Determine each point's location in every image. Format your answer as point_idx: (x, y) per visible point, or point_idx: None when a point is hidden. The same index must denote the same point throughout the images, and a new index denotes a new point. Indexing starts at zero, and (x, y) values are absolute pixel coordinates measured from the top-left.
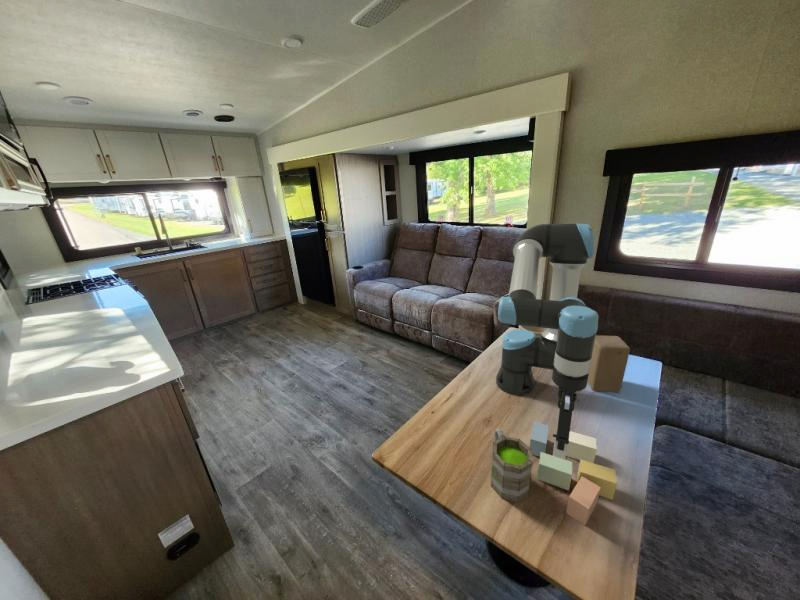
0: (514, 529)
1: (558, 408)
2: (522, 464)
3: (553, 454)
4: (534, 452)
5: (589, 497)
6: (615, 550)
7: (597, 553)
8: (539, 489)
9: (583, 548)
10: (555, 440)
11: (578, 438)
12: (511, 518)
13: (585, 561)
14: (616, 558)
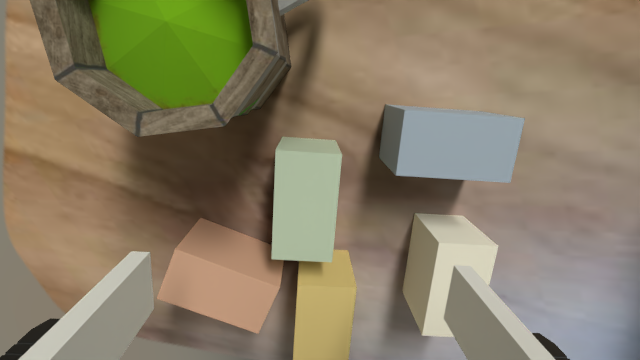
0: None
1: (506, 335)
2: (90, 83)
3: (125, 259)
4: (386, 124)
5: (201, 303)
6: (154, 313)
7: None
8: (244, 145)
9: (119, 252)
10: (44, 339)
11: None
12: None
13: (88, 254)
14: None
